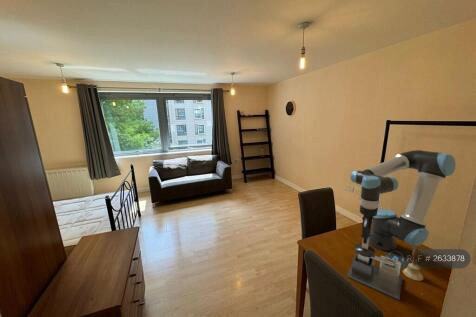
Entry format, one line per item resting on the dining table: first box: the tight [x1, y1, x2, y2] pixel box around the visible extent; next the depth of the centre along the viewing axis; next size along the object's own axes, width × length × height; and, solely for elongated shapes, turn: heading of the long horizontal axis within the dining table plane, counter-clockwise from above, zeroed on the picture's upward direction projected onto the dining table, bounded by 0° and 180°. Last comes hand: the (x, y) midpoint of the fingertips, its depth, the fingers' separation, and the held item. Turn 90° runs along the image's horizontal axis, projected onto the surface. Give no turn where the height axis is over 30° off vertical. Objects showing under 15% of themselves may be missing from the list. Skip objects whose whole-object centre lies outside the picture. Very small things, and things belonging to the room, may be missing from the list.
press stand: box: [346, 251, 403, 301], centre depth 103 cm, size 16×22×14 cm
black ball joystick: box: [354, 243, 394, 266], centre depth 103 cm, size 9×17×9 cm, turn 47°
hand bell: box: [402, 246, 424, 282], centre depth 104 cm, size 8×8×16 cm
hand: (364, 247), depth 105 cm, fingers closed
